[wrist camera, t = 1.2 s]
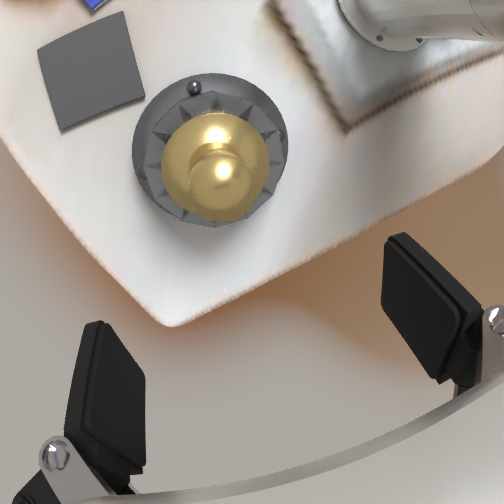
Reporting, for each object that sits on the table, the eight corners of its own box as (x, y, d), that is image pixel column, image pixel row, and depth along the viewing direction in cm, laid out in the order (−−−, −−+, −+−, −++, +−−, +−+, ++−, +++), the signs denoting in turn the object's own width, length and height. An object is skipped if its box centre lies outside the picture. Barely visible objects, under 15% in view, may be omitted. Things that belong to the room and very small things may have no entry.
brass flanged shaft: (245, 97, 25) (276, 110, 17) (263, 180, 29) (297, 230, 21) (154, 122, 25) (136, 148, 16) (180, 203, 29) (179, 264, 21)
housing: (264, 59, 26) (286, 56, 20) (289, 189, 34) (312, 218, 28) (119, 99, 25) (100, 107, 19) (162, 225, 33) (158, 261, 27)
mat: (123, 11, 21) (122, 10, 20) (145, 95, 26) (144, 95, 25) (39, 50, 20) (36, 50, 20) (62, 129, 25) (59, 130, 25)
